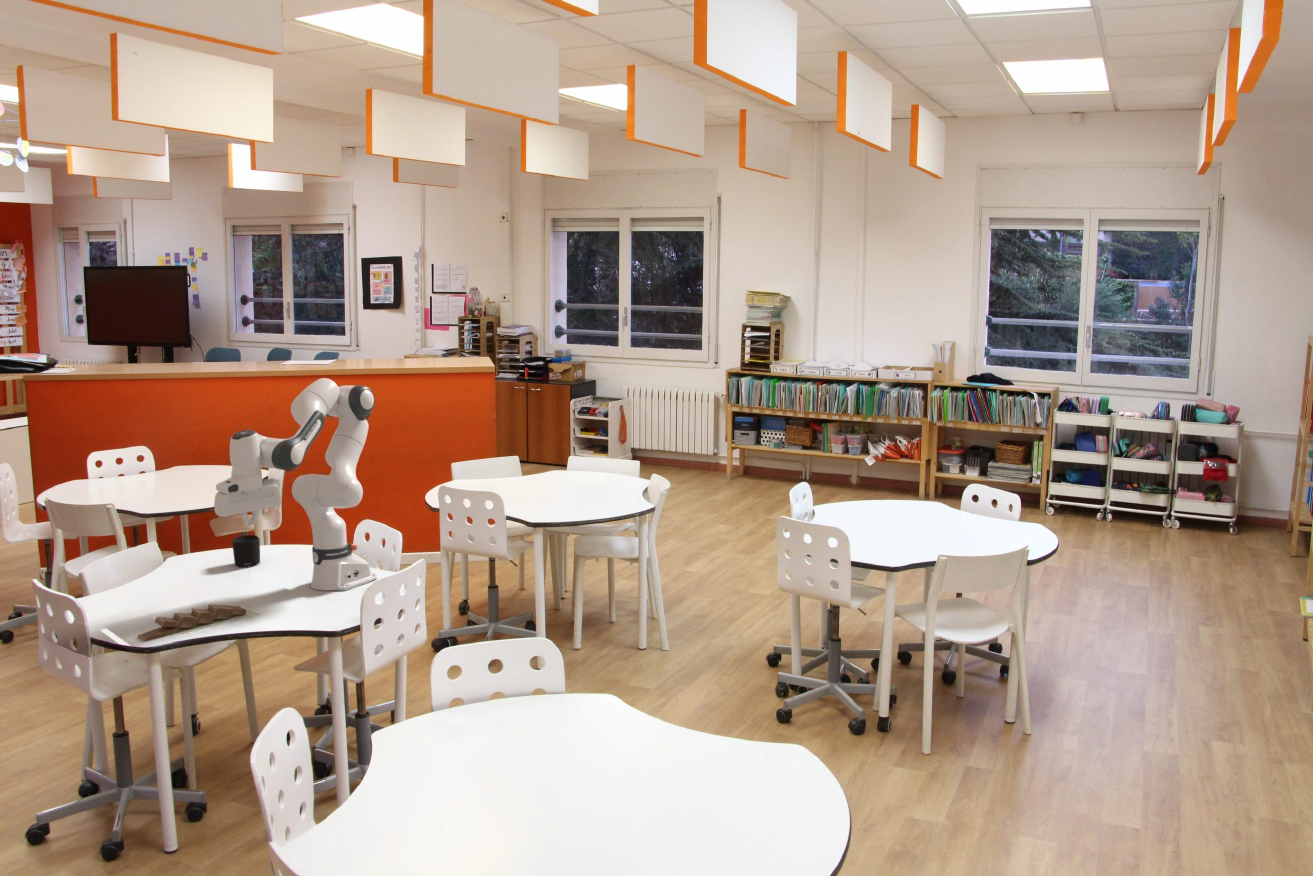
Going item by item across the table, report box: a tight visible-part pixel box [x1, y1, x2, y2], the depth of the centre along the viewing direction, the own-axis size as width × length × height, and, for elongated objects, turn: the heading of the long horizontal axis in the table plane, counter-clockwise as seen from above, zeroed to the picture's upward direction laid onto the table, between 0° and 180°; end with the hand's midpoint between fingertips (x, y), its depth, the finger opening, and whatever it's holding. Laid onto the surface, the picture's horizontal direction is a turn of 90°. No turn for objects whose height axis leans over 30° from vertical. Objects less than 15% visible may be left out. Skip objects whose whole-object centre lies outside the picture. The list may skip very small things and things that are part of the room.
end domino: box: [137, 626, 180, 643], centre depth 289 cm, size 2×5×10 cm
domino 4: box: [207, 603, 246, 615], centre depth 304 cm, size 2×5×10 cm
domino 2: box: [172, 612, 214, 624], centre depth 296 cm, size 2×5×10 cm
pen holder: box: [231, 534, 261, 568], centre depth 360 cm, size 9×9×10 cm
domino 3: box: [190, 608, 231, 619], centre depth 300 cm, size 2×5×10 cm
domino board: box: [178, 606, 260, 635], centre depth 302 cm, size 24×9×1 cm, turn 137°
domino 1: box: [154, 616, 196, 628], centre depth 293 cm, size 2×5×10 cm
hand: (250, 525), depth 306 cm, fingers closed
